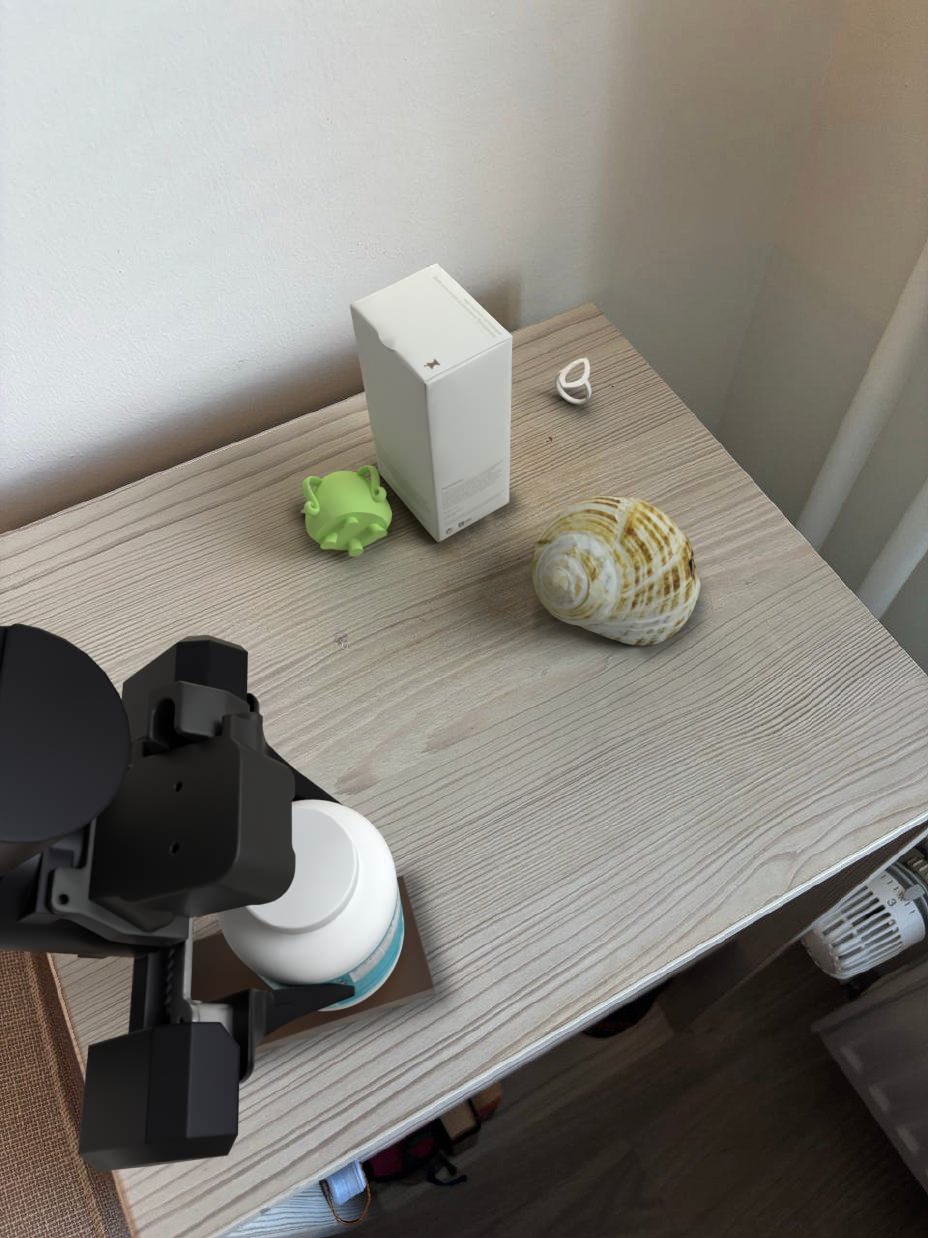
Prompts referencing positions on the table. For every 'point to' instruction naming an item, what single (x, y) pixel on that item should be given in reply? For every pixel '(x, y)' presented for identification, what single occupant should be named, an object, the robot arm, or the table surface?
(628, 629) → the seashell
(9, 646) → the robot arm
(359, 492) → the green footed pot
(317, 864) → the pill bottle
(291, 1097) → the table surface
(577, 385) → the ring
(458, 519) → the cosmetic box
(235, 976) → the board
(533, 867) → the table surface
